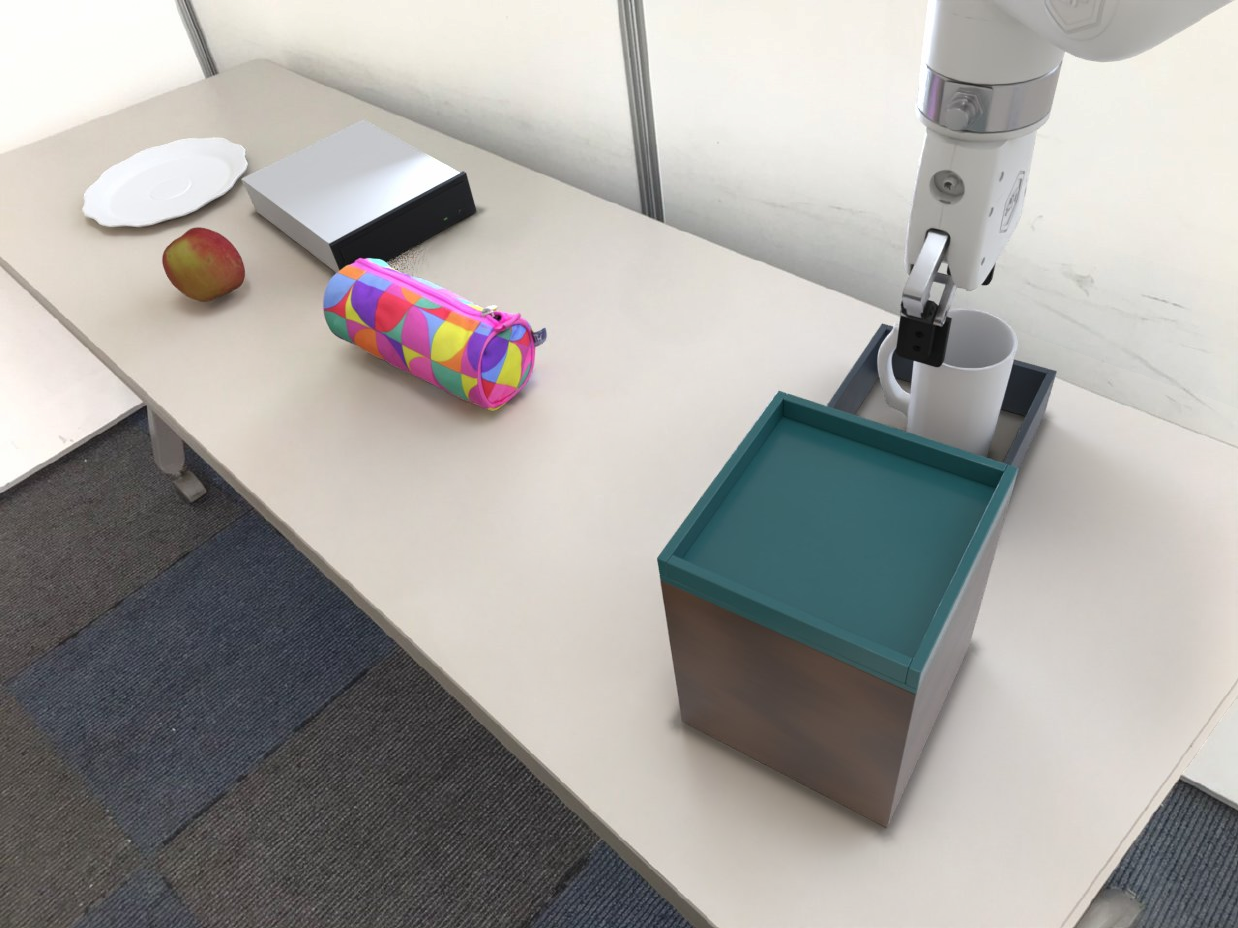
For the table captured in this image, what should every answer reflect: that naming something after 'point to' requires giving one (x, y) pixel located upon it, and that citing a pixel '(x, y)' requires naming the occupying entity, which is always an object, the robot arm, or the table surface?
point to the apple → (203, 264)
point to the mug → (956, 382)
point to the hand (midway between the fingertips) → (944, 317)
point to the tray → (842, 535)
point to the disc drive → (360, 195)
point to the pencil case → (432, 332)
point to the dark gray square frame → (1021, 395)
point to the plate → (164, 182)
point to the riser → (813, 698)
